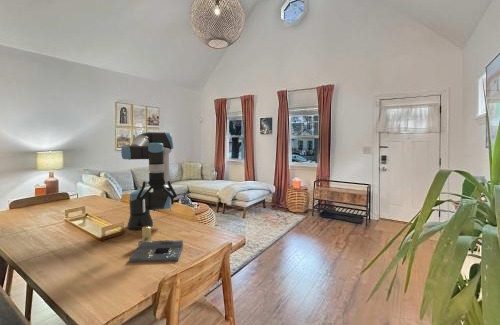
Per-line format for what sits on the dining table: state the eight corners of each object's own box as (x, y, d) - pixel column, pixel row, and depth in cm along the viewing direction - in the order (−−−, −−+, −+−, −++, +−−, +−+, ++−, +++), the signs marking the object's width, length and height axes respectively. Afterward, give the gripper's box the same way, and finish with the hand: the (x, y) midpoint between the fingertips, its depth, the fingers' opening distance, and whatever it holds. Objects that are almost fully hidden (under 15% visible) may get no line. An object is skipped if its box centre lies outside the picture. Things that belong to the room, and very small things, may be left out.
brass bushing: (140, 245, 136) (140, 227, 135) (147, 242, 140) (146, 225, 139) (146, 247, 134) (145, 229, 133) (153, 244, 138) (152, 226, 137)
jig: (129, 262, 118) (129, 253, 118) (139, 249, 132) (139, 241, 132) (178, 261, 120) (177, 252, 120) (183, 248, 134) (182, 240, 134)
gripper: (129, 173, 129) (131, 214, 131) (180, 172, 135) (181, 211, 137) (132, 171, 136) (134, 210, 139) (181, 170, 142) (181, 207, 145)
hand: (157, 211), depth 138 cm, fingers open, 13 cm apart
